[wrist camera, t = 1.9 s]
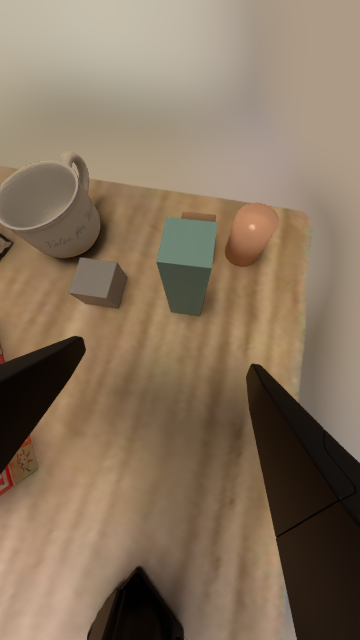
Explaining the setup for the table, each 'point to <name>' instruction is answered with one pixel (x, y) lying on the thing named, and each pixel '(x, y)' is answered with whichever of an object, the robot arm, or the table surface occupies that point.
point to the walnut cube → (198, 216)
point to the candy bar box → (4, 245)
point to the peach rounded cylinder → (250, 233)
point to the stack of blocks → (18, 462)
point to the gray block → (98, 282)
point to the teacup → (51, 206)
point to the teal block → (186, 262)
